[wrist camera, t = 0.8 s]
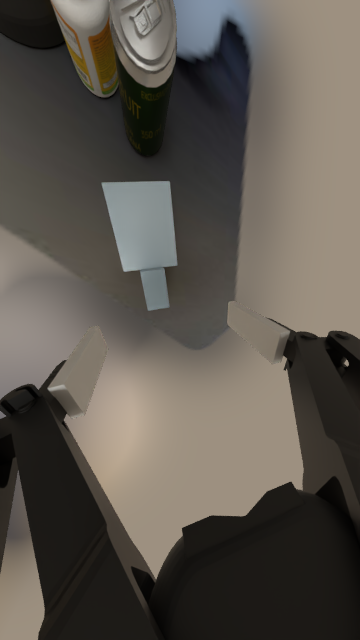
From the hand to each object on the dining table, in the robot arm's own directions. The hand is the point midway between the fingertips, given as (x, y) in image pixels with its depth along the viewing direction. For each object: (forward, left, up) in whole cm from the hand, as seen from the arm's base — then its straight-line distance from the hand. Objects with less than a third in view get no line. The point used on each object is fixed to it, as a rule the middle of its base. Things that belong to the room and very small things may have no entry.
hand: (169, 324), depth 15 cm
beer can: (-23, +2, -19) cm, 30 cm away
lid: (-7, -1, -13) cm, 14 cm away
